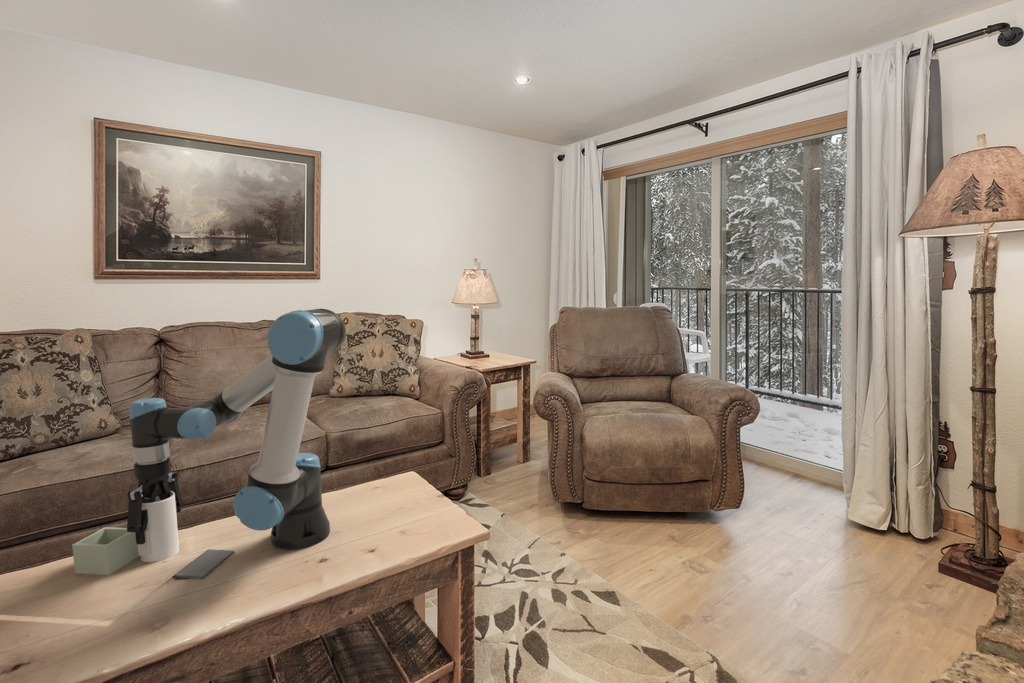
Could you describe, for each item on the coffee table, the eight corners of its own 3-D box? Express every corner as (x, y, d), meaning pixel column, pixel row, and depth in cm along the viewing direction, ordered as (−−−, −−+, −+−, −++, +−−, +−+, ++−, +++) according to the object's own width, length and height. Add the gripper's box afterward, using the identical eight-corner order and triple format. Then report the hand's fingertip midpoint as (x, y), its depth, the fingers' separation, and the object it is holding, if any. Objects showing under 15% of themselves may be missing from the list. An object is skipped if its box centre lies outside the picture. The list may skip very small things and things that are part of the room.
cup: (160, 566, 128) (154, 504, 126) (132, 563, 130) (127, 502, 128) (187, 550, 136) (182, 491, 134) (161, 547, 138) (156, 489, 136)
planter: (140, 558, 132) (137, 528, 131) (110, 578, 123) (106, 546, 123) (108, 556, 133) (105, 527, 132) (75, 576, 124) (72, 544, 123)
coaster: (234, 552, 135) (234, 550, 135) (202, 578, 123) (202, 576, 123) (191, 550, 136) (191, 548, 136) (155, 576, 124) (155, 574, 124)
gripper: (169, 446, 141) (175, 526, 144) (101, 474, 120) (109, 567, 123) (195, 447, 140) (200, 527, 143) (131, 475, 120) (139, 568, 122)
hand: (158, 545), depth 133 cm, fingers closed on cup, 8 cm apart
